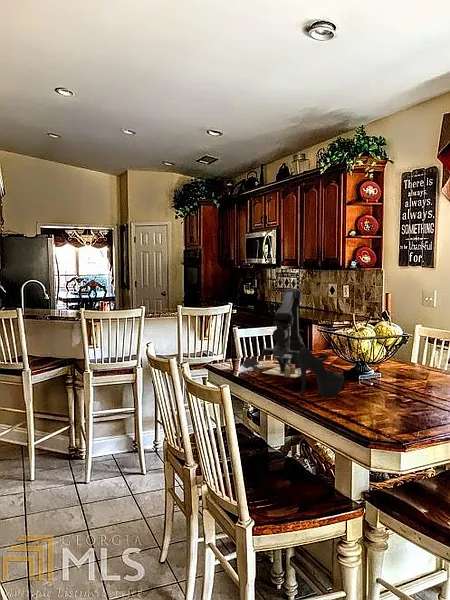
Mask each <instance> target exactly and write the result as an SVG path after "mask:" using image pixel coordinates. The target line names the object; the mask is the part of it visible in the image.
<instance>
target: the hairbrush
mask: <svg viewBox="0 0 450 600" xmlns="http://www.w3.org/2000/svg"><path fill="white" fill-rule="evenodd" d="M259 365H260V363H259V362H258V361H257V359H255V358H254V357H253V356H252V357H247V358H245V359H244V361H243V367H244V368H246V369H249V368H252V369H253V372H254V371H255V372H256V371H257V372H258V371H259V372H260V371H261V368H259V367H258V366H259Z"/></svg>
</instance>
